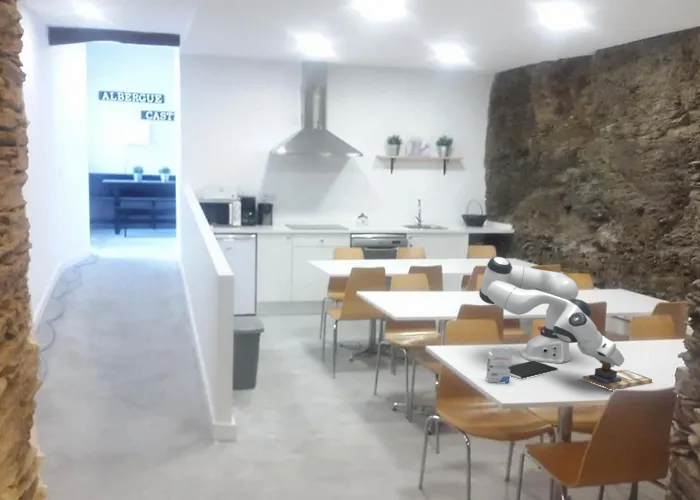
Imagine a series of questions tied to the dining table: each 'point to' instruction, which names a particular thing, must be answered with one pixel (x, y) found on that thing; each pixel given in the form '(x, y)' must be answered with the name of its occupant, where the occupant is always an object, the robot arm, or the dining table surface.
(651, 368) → the dining table surface
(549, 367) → the black flat rectangular slab
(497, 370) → the ink box
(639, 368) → the dining table surface
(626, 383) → the stamp board
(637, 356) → the dining table surface
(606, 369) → the stamp
